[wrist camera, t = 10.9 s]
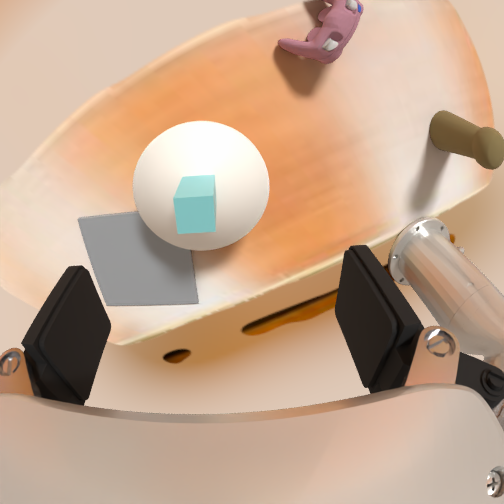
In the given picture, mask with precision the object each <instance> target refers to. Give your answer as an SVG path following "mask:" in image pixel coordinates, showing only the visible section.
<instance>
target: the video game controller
mask: <svg viewBox="0 0 504 504" xmlns="http://www.w3.org/2000/svg"><path fill="white" fill-rule="evenodd" d="M322 1H325V2H327V3H329V4H332V6H330V7H328V8H325V9H323V10H322V11H321V12H320V13H319V15H318V20H319V21H321V22H322V23H323V25H322V27H321V28H320V27H316V28H314V29H312V30H311V31H310V32H309V34H308V36H307V40H308V41H309V42H305V41H298V40H293V39H280V40H279V41H278V44H279V46H280V47H281V48H282V49H284V50H286V51H288V52H291V53H293V54H296V55H299V56H303V57H306V58H310V59H314V60H318V61H320V62H321V63H324V64H329V63H332V62H333V61H335V60H336V59H337V58H338V57H339V56H340V55H341V53H342V50H343V48H344V47H345V45H346V44H347V43H348V41H349V40H350V39H351V37H352V35H353V34H354V32H355V30H356V27H357V25H358V22H359V19H360V16H361V14H362V13H363V5H362V4H361V3H360V2H359V1H358V0H322Z"/></svg>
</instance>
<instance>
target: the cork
mask: <svg viewBox="0 0 504 504" xmlns="http://www.w3.org/2000/svg"><path fill="white" fill-rule="evenodd" d="M430 138H431V140H432V142H433V144H434V145H435V147H436V148H438V149H440V150H443V151H447V152H451V153H455V154H459V155H463V156H467V157H470V158H474V159H476V161H477V162H478V163H479V164H480V165H481V166H482V167H484V168H486V169H492V170H493V169H496V168H498V167H499V166H500V165H501V164H502V162H503V160H504V139H503V137H502V136H501V134H500V133H499V132H498V131H496V130H495V129H493V128H490V127H483V128H480V127H478V126H476V125H474V124H472V123H470V122H468V121H466V120H464V119H462V118H460V117H458V116H456V115H454V114H452V113H450V112H448V111H444V110H443V111H439V112H438V113H436V114H435V115H434V117H433V118H432V120H431V124H430Z"/></svg>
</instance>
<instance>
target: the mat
mask: <svg viewBox="0 0 504 504" xmlns="http://www.w3.org/2000/svg"><path fill="white" fill-rule="evenodd" d="M78 222H79V226H80V229H81V233H82V236H83V240H84V243H85V246H86V249H87V253H88V256H89V259H90V262H91V265H92V268H93V270H94V273H95V276H96V279H97V282H98V284H99V287H100V290H101V292H102V295H103V297H104V300H105V302H106V305H107V306H120V305H168V304H195V303H198V302H199V301H198V295H197V288H196V282H195V275H194V269H193V262H192V254H191V250H188V249H184V248H180V247H177V246H175V245H172V244H170V243H168V242H166V241H164V240H163V239H161V238H160V237H158V236H157V235H156V234H155V233H154V232H152V230H151V229H150V228H149V227H148V226H147V225H146V224H145V222H144V221H143V219H142V218H141V216H140V214H139V212H138V211H137V212H127V213H117V214H107V215H98V216H90V217H81V218H79V219H78Z"/></svg>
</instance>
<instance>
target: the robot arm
mask: <svg viewBox="0 0 504 504" xmlns="http://www.w3.org/2000/svg"><path fill="white" fill-rule="evenodd" d="M388 268H389V272H390V274H391V276H392V277H393V278H394V280H395V281H396V282H398V283H399V284H402V285H411V287H412V288H413V289H414V290H415V292H416V293H417V294H418V296H419V297H420V299H421V300H422V301H423V303H424V304H425V305H426V307H427V308H428V310H429V311H430V312H431V314H432V315H433V317H434V318H435V319H436V321H437V322H438V324H439V325H440V326H430V327H427V328H424V327H423V325H422V324H421V321H420V320H419V318H418V317H417V315H416V314H415V312H414V311H413V309H412V308H411V306H410V305H409V303H408V302H407V300H406V299H405V297H404V296H403V294H402V293H401V292H400V290H399V289H398V287H397V286H396V284H395V283H394V281H393V280H392V279H391V277H390V276H389V275H388V273H387V272H386V270H385V269H384V268H383V266H382V265H381V264H380V262H379V261H378V260H377V258H376V257H375V256H374V254H373V253H372V252H371V250H370V249H369V248H368V246H366V245H356V246H350V248H349V250H346V251H345V253H344V258H343V265H342V271H341V277H340V284H339V289H338V294H337V300H336V305H335V315H336V318H337V320H338V323H339V325H340V327H341V330H342V332H343V335H344V337H345V340H346V342H347V345H348V347H349V350H350V352H351V355H352V358H353V360H354V363H355V365H356V368H357V370H358V373H359V376H360V379H361V381H362V384H363V386H364V387H365V388H369V391H370V394H368V395H364V396H359V397H354V398H349V399H344V400H339V401H333V402H328V403H322V404H316V405H310V406H303V407H296V408H288V409H280V410H271V411H260V412H246V413H230V414H161V413H160V414H159V413H143V412H130V411H120V410H111V409H103V408H95V407H89V406H84V403H85V400H87V399H88V398H89V395H90V392H91V388H92V385H93V382H94V378H95V375H96V372H97V369H98V366H99V362H100V359H101V356H102V353H103V350H104V347H105V345H106V342H107V339H108V336H109V333H110V330H111V323H110V320H109V318H108V316H107V314H106V311H105V309H104V307H103V305H102V302H101V300H100V298H99V295H98V293H97V291H96V288H95V286H94V283H93V281H92V278H91V276H90V273H89V271H88V270H87V269H85V268H84V267H83V266H82V265H81V266H69V267H68V268H67V269H66V271H65V272H64V274H63V275H62V277H61V278H60V280H59V281H58V282H57V284H56V286H55V287H54V289H53V290H52V292H51V293H50V295H49V296H48V298H47V299H46V301H45V303H44V304H43V306H42V308H41V309H40V311H39V313H38V314H37V316H36V318H35V319H34V321H33V323H32V324H31V326H30V328H29V330H28V331H27V333H26V335H25V337H24V339H23V341H22V343H21V344H22V345H23V346H24V348H25V351H24V353H23V351H21V350H20V349H18V348H11V349H9V350H7V351H5V352H4V353H3V354H2V355H1V356H0V504H504V296H503V295H502V293H501V292H500V291H499V290H498V289H497V288H496V287H495V286H494V285H493V284H492V282H491V281H490V280H489V279H488V278H487V277H486V276H485V275H484V274H483V273H482V272H481V271H480V270H479V269H478V268H477V267H476V266H475V265H474V264H473V263H472V262H471V261H470V260H469V259H468V258H467V257H466V256H465V255H464V248H463V247H456V246H455V245H454V244H452V243H451V242H450V236H449V231H448V229H447V227H446V226H445V224H443V223H442V222H441V221H440V220H438V219H437V218H433V217H425V218H421V219H419V220H416V221H414V222H413V223H411V224H410V225H408V226H407V227H406V228H405V229H404V230H403V231H402V232H401V233H400V235H399V236H398V237H397V239H396V240H395V242H394V244H393V246H392V248H391V251H390V254H389V259H388ZM460 351H461V352H460ZM462 352H463V353H462ZM464 353H467V354H475V355H483V356H484V360H483V361H481V360H479V359H477V358H474V357H472V356H469V355H467V354H464Z"/></svg>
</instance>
